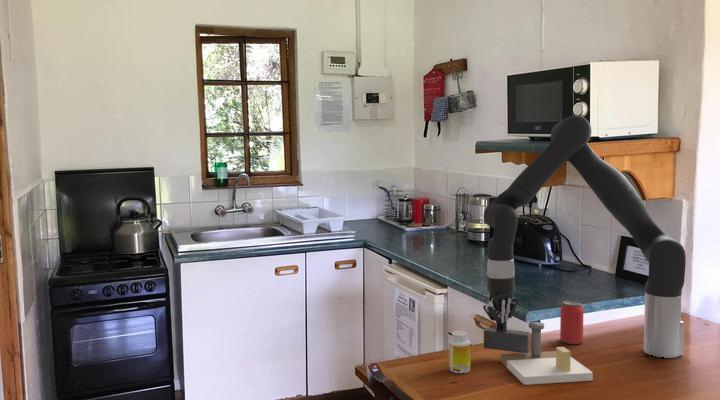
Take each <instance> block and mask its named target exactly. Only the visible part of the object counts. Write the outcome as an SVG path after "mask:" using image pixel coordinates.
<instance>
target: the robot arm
mask: <svg viewBox="0 0 720 400" xmlns="http://www.w3.org/2000/svg"><path fill="white" fill-rule="evenodd" d="M592 130H593V129H592V125H591V123H590V122H589V120H588V119H587V118H585V117H583V116H581V115H571V116H568V117H566V118H565V119H562V120H561V121H559V122H558V123H556V124H555V125H554V126H553V127H552V129H551V131H550V140H551V142H549V144H548V146H547V147H546V148H545V149H544V150H543V151H542V152H541V153H540V154H539V155H538V156H537V157H536V158H535V159H534V160H533V161H532V162H531V163H530V164H528V166H527V167H525V168H524V169H523V170H522V171H521V172H520V173H519V174H518V176H517V177H516V178H515V180H513V182H512V183H511V184H510V185H509V186H508V187H507V189H505V190H504V191H502V192H501V193H500V194H498V195H497V196H496V197H495V198H494V199H492V200H491V201H490V202H489V204H488V205H487V206H486V208H485V209H484V212H483V220H484V223H485V224H486V225H487V226H488V227H490V228H493V235H492V237H490V239H489V240H488V242H487V263H486V264H487V265H486V278H487V279H486V281H487V282H486V283H487V284H486V285H487V289H486V290H487V291H488V292H489V297H488V301H489V302H488V303H487V304H484V305H483V307H482V308H483V310H484V312H485V314H487V316H488V318H489V319H490V321H494V322H495V325H496V327H495V329H504V330H508V328H507V327H508V326H507V325H508V324H507V323H508V320H509V319H512V317H513V315H514V313H515V310H516V308H517V306H518V303H519V301H520V300H519V299H518V298H515V297H514V294H513V292H515V290H516V289H515V287H516V286H515V283H516V282H515V278H516V277H515V270H516V269H515V261H514V260H515V259H514V242H515V239H516V234H517V230H518V223H519V222H518V221H519V220H518V215H517V211H516V210H517V209H518V208H521V207H525V206H527V205H528V204H529V203H531V201H532V200H533V198H535V197H536V195H538V193H539V191H541V189H543V187H544V186H545V185H546V183H547V182H548V181H549V180H550V178H551V177H552V175H554V173H555V172H556V171H557V170H558V169H559V168H560V167H562V165H563V163H565V162H569V163H570V164H571V165H572V166H573V167H574V169H575V170H576V171H577V172H578V174H579V175H580V176H581V177H582V179H583V180H584V181H585V182H586V184H587V185H588V187H589V188H590V189H591V190H592V192H593V193H594V194H595V196H596V197H597V199H598V200H599V201H600V202H601V203H602V205H603V206H604V208H606V210H607V211H608V212H609V213H610V214H611V216H612V217H613V218H614V219H615V220H616V221H617V222H618V223H619V224H620V225H621V226H622V227H623V228H624V229H625V230H626V231H627V232H628V233H629V235H630V236H631V237H632V239H633V241H634V242H635V244H636V245H637V246H638V248H639V250H640V251H641V253H642V255H643V256H644V258H645V261H647V262H648V277H647V281H646V282H645V285H644V286H645V287H644V321H643V322H644V324H643V325H644V327H643V328H644V329H643V352H644V353H645V354H647V355H650V356H651V355H653V356H652V357H655V356H656V358H661V357H664V359H675V358H678V357H681V356H684V339H685V337H684V335H685V334H684V333H685V332H684V331H685V323H684V321H682V292H683V290H682V289H683V287H684V285H685V276H686V262H687V260H686V258H687V257H686V256H687V255H686V251H685V247H684V246H683V245H682V244H681V243H680V242H679V241H677V240H676V239H675V238H672V237H671V236H669V235H668V234H667V232H665V231H664V230H663V229H662V228H661V227H660V226H659V225H658V224H657V223H656V221H655V220H653V218H652V216H651V215H650V214H649V211H648V209H647V207H646V206H645V204H644V202H643V200H642V198H641V196H640V195H639V193H638V191H637V190H636V189H635V187H633V185H632V184H631V183H630V181H629V180H628V179H627V177H626V176H625V175H624V174H623V173H621V171H619V170H618V169H616V168H615V167H614V166H612V165H611V164H610V163H608V162H607V161H605V160H603V159H602V158H601V157H600V156H598V154H597V153H596V152H595V151H594V150H593V149H592V147H591V146H590V144H588V142H589V141H590V139H591V137H592Z"/></svg>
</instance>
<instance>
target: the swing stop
mask: <svg viewBox="0 0 720 400" xmlns="http://www.w3.org/2000/svg"><path fill="white" fill-rule="evenodd" d="M530 335H531V334H530V331H522V330H521V331H520V330H512V329H507V330H504V329H496V328H492V327H486V328H484V330H483V349H487V350H488V349H489V350H496V351H506V352H513V353H530V343H531V341H530Z"/></svg>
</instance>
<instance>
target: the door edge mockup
mask: <svg viewBox="0 0 720 400" xmlns="http://www.w3.org/2000/svg"><path fill="white" fill-rule="evenodd" d="M528 328H529V329H531V352H528V353H521V352H513V353H502V354H500V355H499V357H500V359H499V361H500V363H502V364H503V366H504V367H505V368H507V370H508V371H509V372H511V374H513V376H514V377H516V379H518V380H519V382H521V383H522V384H523V386H526V385H539V384H540V385H543V384H556V383H557V384H560V383H573V382H574V383H575V382H588V381H589V382H590V381H593V378H594V377H593V376H594V374H593V373H594V372H592V371H591V370H590V369H589V368H587V367H586V366H584V365H583V364H582V363H581V362H579V361H578V360H576V359H575V358H574V357H572V356H571V355H572V353H571V351H570V350H569V349H567V348H566V347H564V346H556V347H555V349H556V350H551V351H542V349H541V347H542V346H541V345H542V342H541V341H542V330H544V329H545V324H544V323H543V322H541V321H530V322H529V323H528Z"/></svg>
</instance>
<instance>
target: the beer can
mask: <svg viewBox="0 0 720 400" xmlns="http://www.w3.org/2000/svg"><path fill="white" fill-rule="evenodd" d="M584 314H585V312H584V307H583V302H580V301H578V300H573V299H572V300H564V301H562V304H561V307H560V326H559V327H560V328H559V331H560V332H559V333H560V334H559V335H560V336H559V339H560V341H561V343H564V344H567V345H581V344H582V343H583V342H584Z"/></svg>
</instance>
